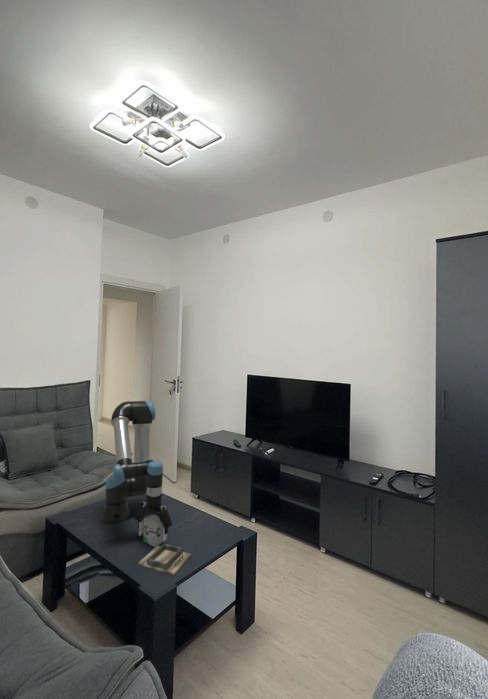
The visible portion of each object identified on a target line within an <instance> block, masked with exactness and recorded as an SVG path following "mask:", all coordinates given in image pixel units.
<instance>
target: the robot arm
mask: <svg viewBox="0 0 488 699" xmlns="http://www.w3.org/2000/svg"><path fill="white" fill-rule="evenodd" d="M155 408H156V407H155V404H154V402H152V401H150V400H138V401H137V400H134V401H129V400H128V401H127V400H126V401H123V402H121V403H120V404H118V405H117V406H116V407H115V409H114V410H113V412H112V414H111V419H110V420H111V421H110V422H111V426H112V428H113V434H114V445H115V447H114V448H115V459H116V460H115V461H116V464H113V467H112V474H111V475H110V476H108V477H107V478H106V480H105V485H104V486H105V498H104V507H103V509H102V512H101V514H100V519H101V521H102V522H104V523H106V522H107V523H108V524H115V523H121V522H124V521H126V520H127V519H129V517H130V513H131V512H130V508H129V506H128V498H130V497H137V496H146V498H145V500H143V501H142V502H140V506H139V508H138V511H137V512H136V515H135V517H134V520H135V521H137V528H138V536H139V537H141V536H142V535H144V520H143V519H144V518H146V517H147V515H148V514H152V515H155V516H157V517H159V519H160V521H161V522H162V542H165V541H167V539H168V534H169V528H170V527H171V526H173V521H172V520H171V516H170V514H169V510H168V505H167V504H165V505H162V500H163V497H162V496H163V494H162V493H163V478H164V477H163V473H164V465H163V462H161V461H158V460H157V461H156V460H154V459H152V458H150V434H151V433H150V430H151V429H150V427H151V425H152V424H153V421H154V420H156V409H155ZM130 422H131V425H132V426H133V427H134V443H133V444H134V445H133V446H134V451H133V454H134V458H132V452H131V449H132V448H131V440H130V432H129V423H130ZM133 459H134V461H133ZM145 507H146V510H145V511H144V509H145ZM143 511H144V512H143Z"/></svg>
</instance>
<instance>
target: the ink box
mask: <svg viewBox="0 0 488 699" xmlns="http://www.w3.org/2000/svg"><path fill="white" fill-rule="evenodd" d="M143 519H144V528H143V537H142V538H143V539H142V540H143V543H146V544H148V545H149V546H152V547H153V548H155V547H156V546H160V544H162V542H163V541H162V536H163V524H162V522H161V521H160V519H159V517H158V516H157V515H155V514H150V515H148V516H145V517H144V518H143Z"/></svg>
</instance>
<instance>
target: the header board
mask: <svg viewBox="0 0 488 699" xmlns="http://www.w3.org/2000/svg"><path fill="white" fill-rule="evenodd" d="M191 556H192V553H190V552H185V551H184V548H183V547H180V546H176V545H175V546H174V545H172V544H168V543H163V544H162V545H157V546H155V547H153V549H152V550H151V551H150V552H148V554H146V555H145V557H143V558H142V559H141V560H140V561H139V562H138V566H141V567H144V568H148V569H150V570H155V571H158V572H162V573H166V574H169V575H172V576H175V574H177V572H178V571H179V570H180V569H181V568H182V567H183V566H184V565H185V563H186V562H187V561H188V560H189V559H190V558H191Z"/></svg>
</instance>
